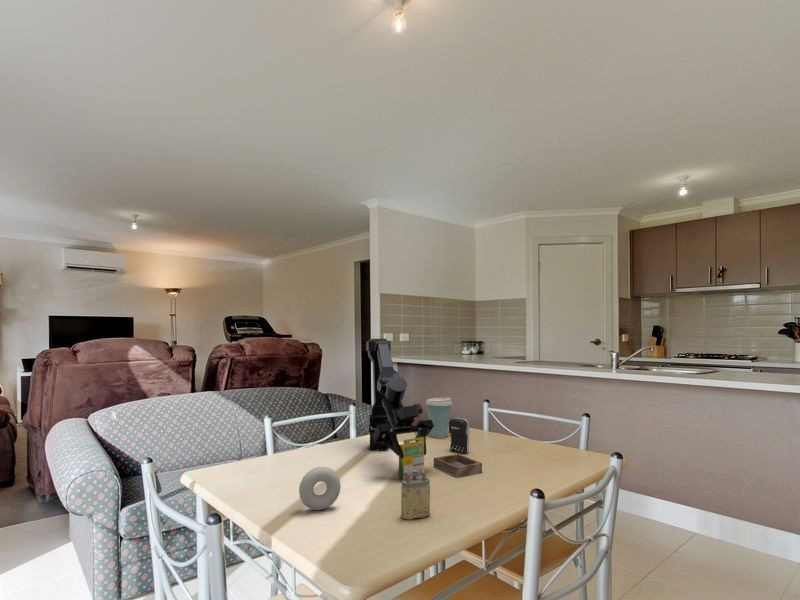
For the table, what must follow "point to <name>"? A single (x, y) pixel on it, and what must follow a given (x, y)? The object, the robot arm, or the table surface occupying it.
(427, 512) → the lighter
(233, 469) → the table surface
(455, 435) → the black upright block
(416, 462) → the crayon box
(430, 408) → the disposable coffee cup
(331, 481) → the donut
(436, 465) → the tray
